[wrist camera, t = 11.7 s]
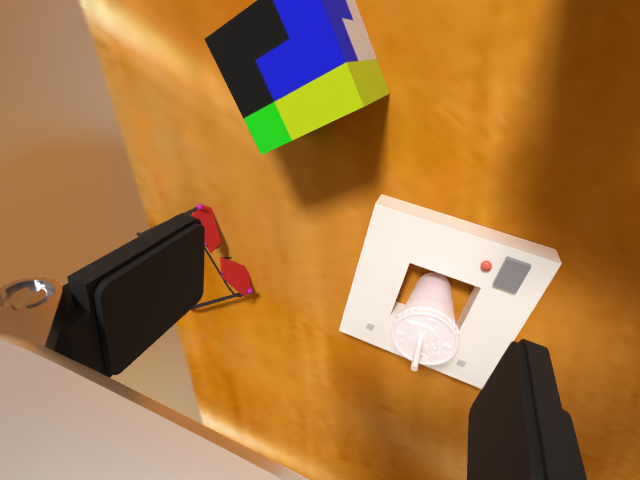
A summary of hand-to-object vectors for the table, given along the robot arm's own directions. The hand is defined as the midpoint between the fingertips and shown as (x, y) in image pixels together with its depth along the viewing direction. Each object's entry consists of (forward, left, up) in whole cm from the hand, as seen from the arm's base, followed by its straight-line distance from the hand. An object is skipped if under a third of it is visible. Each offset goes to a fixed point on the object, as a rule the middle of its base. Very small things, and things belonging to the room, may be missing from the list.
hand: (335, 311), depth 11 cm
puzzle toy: (-3, -12, -31) cm, 33 cm away
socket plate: (+17, +6, -30) cm, 35 cm away
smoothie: (+17, +6, -30) cm, 35 cm away
